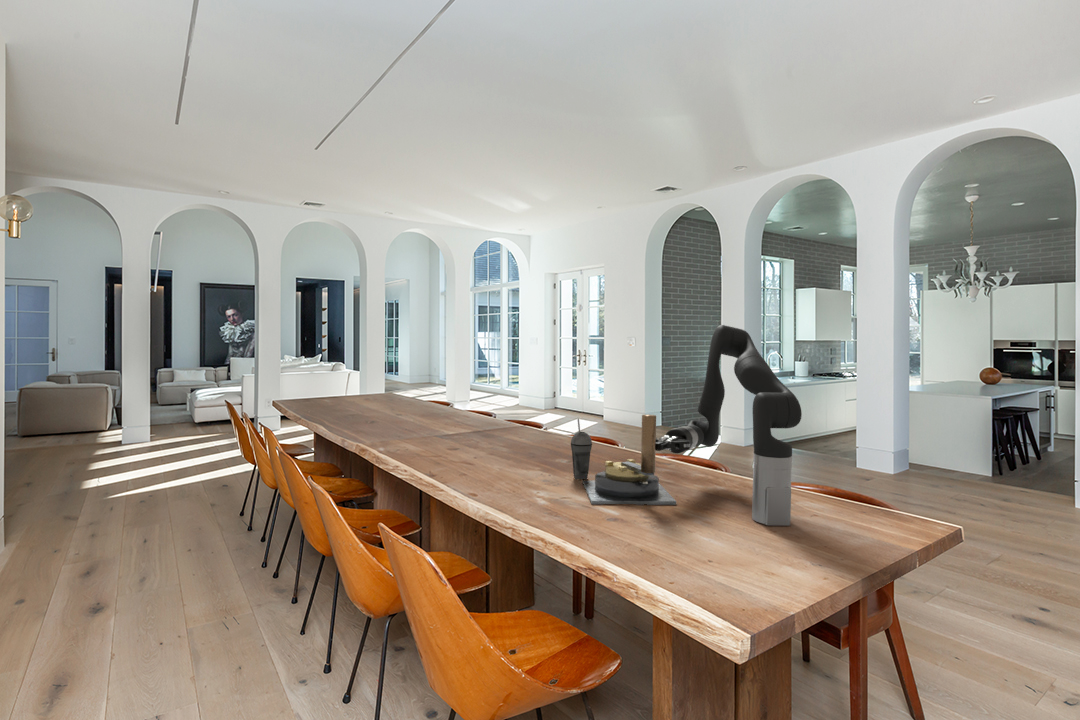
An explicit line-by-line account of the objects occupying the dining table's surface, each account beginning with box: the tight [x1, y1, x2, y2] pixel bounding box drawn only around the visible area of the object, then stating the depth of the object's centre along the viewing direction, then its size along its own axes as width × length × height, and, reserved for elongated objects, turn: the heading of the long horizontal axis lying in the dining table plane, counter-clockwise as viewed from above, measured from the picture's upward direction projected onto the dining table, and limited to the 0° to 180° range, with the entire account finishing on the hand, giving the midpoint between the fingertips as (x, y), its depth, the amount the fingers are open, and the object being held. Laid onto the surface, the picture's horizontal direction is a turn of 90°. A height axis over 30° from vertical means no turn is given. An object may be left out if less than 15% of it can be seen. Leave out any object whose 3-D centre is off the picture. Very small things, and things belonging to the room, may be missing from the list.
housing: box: [582, 470, 677, 506], centre depth 178 cm, size 24×24×5 cm
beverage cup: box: [570, 418, 593, 481], centre depth 196 cm, size 7×7×20 cm
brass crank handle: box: [604, 414, 657, 482], centre depth 174 cm, size 20×13×20 cm, turn 24°
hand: (656, 447), depth 167 cm, fingers closed
